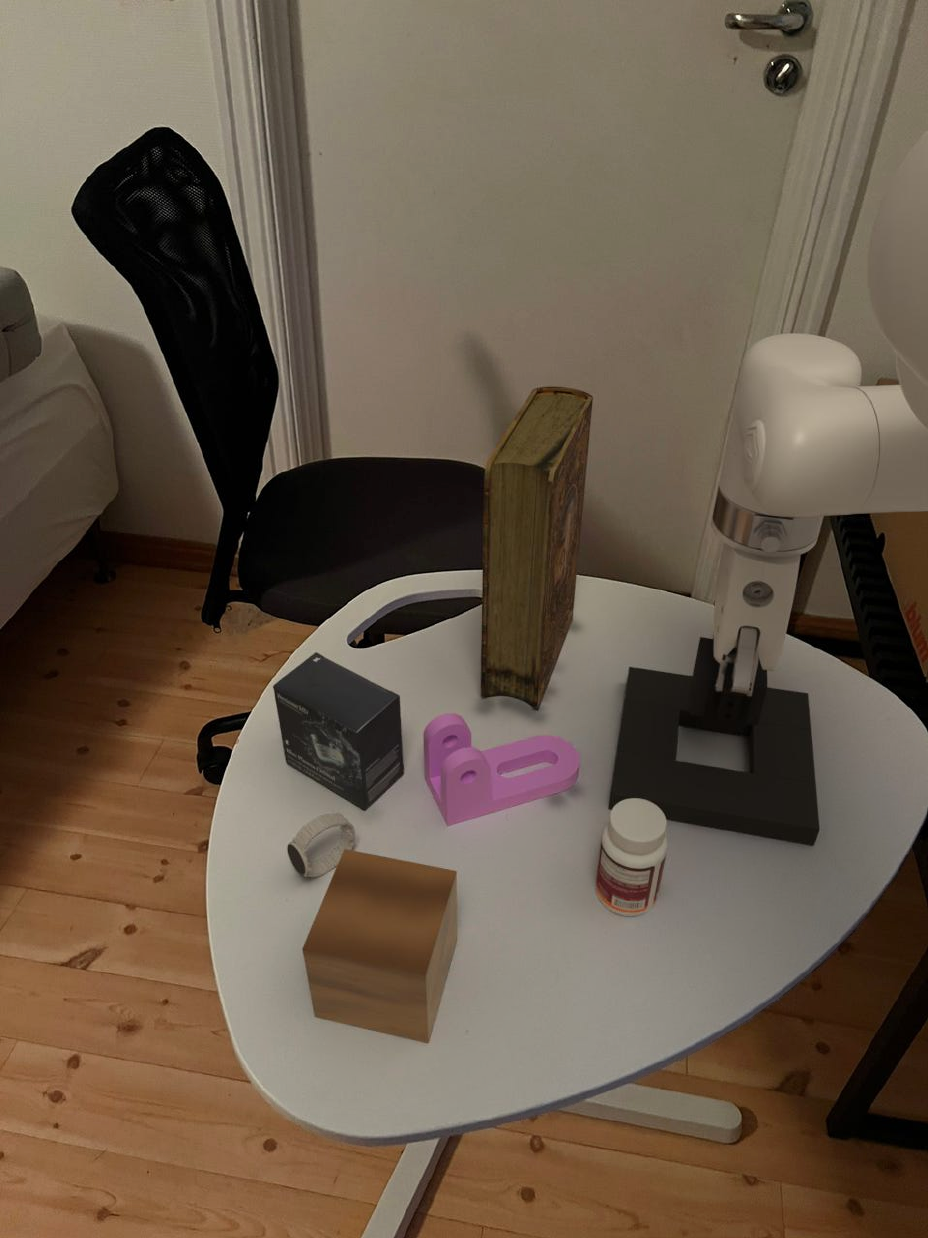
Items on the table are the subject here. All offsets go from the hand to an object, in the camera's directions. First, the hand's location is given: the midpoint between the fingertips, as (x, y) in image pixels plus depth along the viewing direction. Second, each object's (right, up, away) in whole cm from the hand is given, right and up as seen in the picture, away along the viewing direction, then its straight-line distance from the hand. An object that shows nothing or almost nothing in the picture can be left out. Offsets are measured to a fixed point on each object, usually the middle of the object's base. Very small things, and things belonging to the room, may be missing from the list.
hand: (724, 696), depth 78 cm
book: (-15, +3, +15) cm, 22 cm away
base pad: (0, -6, +4) cm, 7 cm away
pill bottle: (-9, -14, -7) cm, 19 cm away
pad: (0, 0, 0) cm, 0 cm away
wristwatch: (-33, -13, -5) cm, 35 cm away
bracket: (-18, -8, +2) cm, 20 cm away
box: (-32, -7, +3) cm, 33 cm away
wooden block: (-27, -19, -13) cm, 35 cm away
